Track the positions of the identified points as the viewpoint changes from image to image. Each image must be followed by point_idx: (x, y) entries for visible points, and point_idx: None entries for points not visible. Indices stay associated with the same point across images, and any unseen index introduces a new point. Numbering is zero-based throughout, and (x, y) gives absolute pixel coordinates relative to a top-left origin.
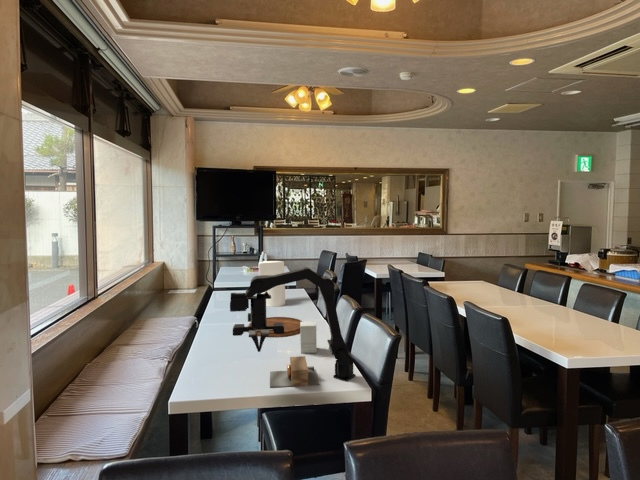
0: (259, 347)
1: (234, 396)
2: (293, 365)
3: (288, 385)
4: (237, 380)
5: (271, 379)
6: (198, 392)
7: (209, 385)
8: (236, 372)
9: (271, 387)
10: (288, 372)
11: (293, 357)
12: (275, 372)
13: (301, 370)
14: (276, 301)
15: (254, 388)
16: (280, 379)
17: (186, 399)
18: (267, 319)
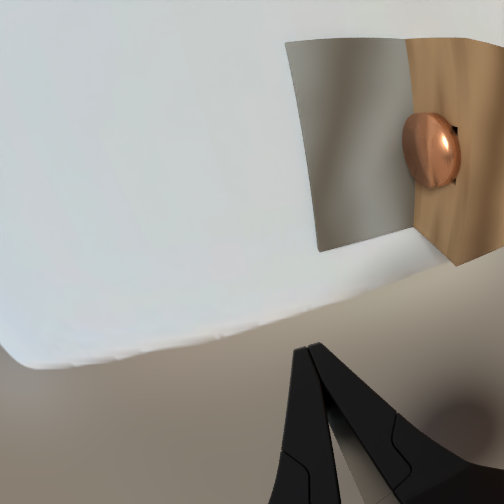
0: (332, 421)
1: (179, 339)
2: (477, 196)
3: (400, 228)
4: (108, 193)
5: (318, 167)
6: (34, 325)
7: (23, 270)
8: (56, 85)
9: (325, 247)
10: (429, 185)
11: (481, 54)
12: (326, 58)
13: (488, 251)
14: None
15: (240, 267)
16: (367, 163)
17: (42, 363)
18: None
